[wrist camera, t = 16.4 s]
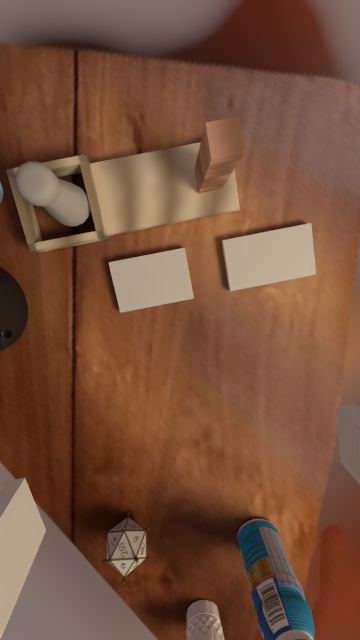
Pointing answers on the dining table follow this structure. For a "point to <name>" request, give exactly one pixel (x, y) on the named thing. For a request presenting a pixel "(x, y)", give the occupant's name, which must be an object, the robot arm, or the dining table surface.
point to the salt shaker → (52, 193)
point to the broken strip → (240, 263)
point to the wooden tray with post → (148, 187)
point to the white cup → (203, 621)
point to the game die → (126, 546)
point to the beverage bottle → (273, 584)
